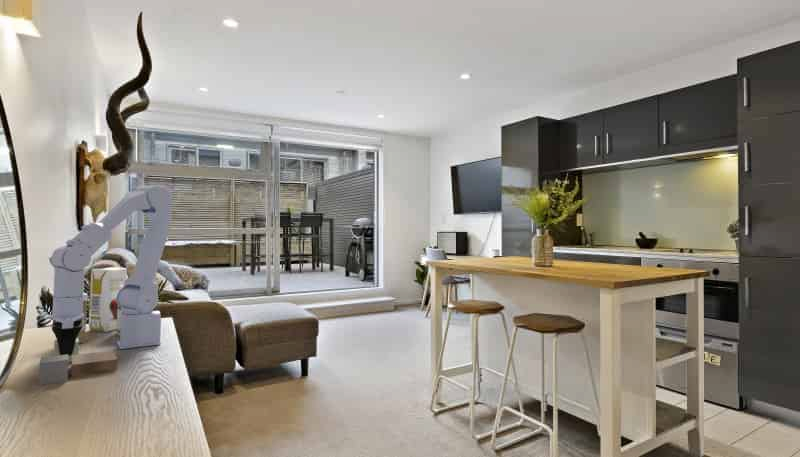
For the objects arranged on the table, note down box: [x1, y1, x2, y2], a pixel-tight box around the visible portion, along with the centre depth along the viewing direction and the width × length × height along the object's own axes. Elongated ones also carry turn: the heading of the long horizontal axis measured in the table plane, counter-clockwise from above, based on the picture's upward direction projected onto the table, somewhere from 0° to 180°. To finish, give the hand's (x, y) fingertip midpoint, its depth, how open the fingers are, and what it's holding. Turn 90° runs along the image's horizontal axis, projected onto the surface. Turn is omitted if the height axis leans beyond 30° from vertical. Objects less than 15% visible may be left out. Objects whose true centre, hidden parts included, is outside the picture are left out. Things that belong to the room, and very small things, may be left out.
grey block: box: [38, 354, 69, 386], centre depth 88 cm, size 4×4×4 cm
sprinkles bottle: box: [77, 292, 89, 344], centre depth 116 cm, size 5×5×14 cm
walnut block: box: [71, 349, 118, 378], centre depth 96 cm, size 8×8×3 cm
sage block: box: [53, 338, 80, 363], centre depth 101 cm, size 4×4×4 cm
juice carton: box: [88, 266, 127, 333], centre depth 132 cm, size 8×9×19 cm
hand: (66, 352), depth 101 cm, fingers closed on sage block, 4 cm apart
